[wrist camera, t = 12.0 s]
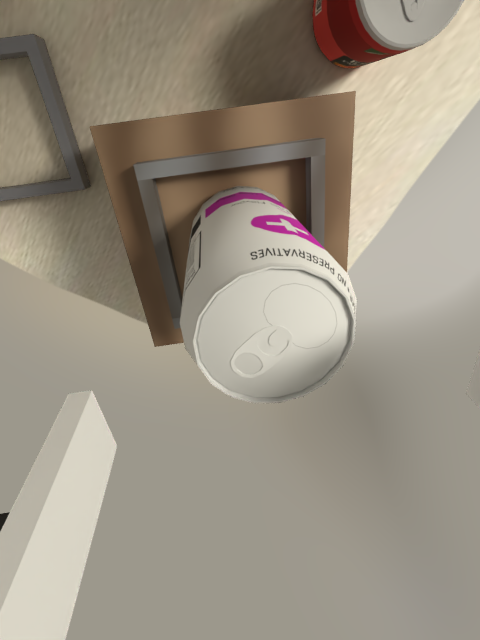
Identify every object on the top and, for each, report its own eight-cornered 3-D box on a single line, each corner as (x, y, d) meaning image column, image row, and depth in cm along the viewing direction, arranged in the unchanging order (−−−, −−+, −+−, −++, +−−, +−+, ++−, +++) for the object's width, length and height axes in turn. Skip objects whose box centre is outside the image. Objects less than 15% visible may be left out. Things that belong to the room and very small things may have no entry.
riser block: (308, 100, 33) (364, 89, 22) (310, 270, 43) (350, 326, 31) (125, 124, 33) (82, 127, 21) (166, 291, 42) (152, 356, 31)
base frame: (43, 38, 29) (33, 34, 28) (90, 186, 35) (85, 189, 34) (-98, 57, 29) (-117, 53, 27) (-26, 202, 35) (-38, 206, 34)
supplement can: (240, 159, 25) (281, 202, 12) (312, 236, 28) (405, 335, 15) (169, 240, 27) (137, 350, 14) (242, 302, 30) (271, 436, 18)
